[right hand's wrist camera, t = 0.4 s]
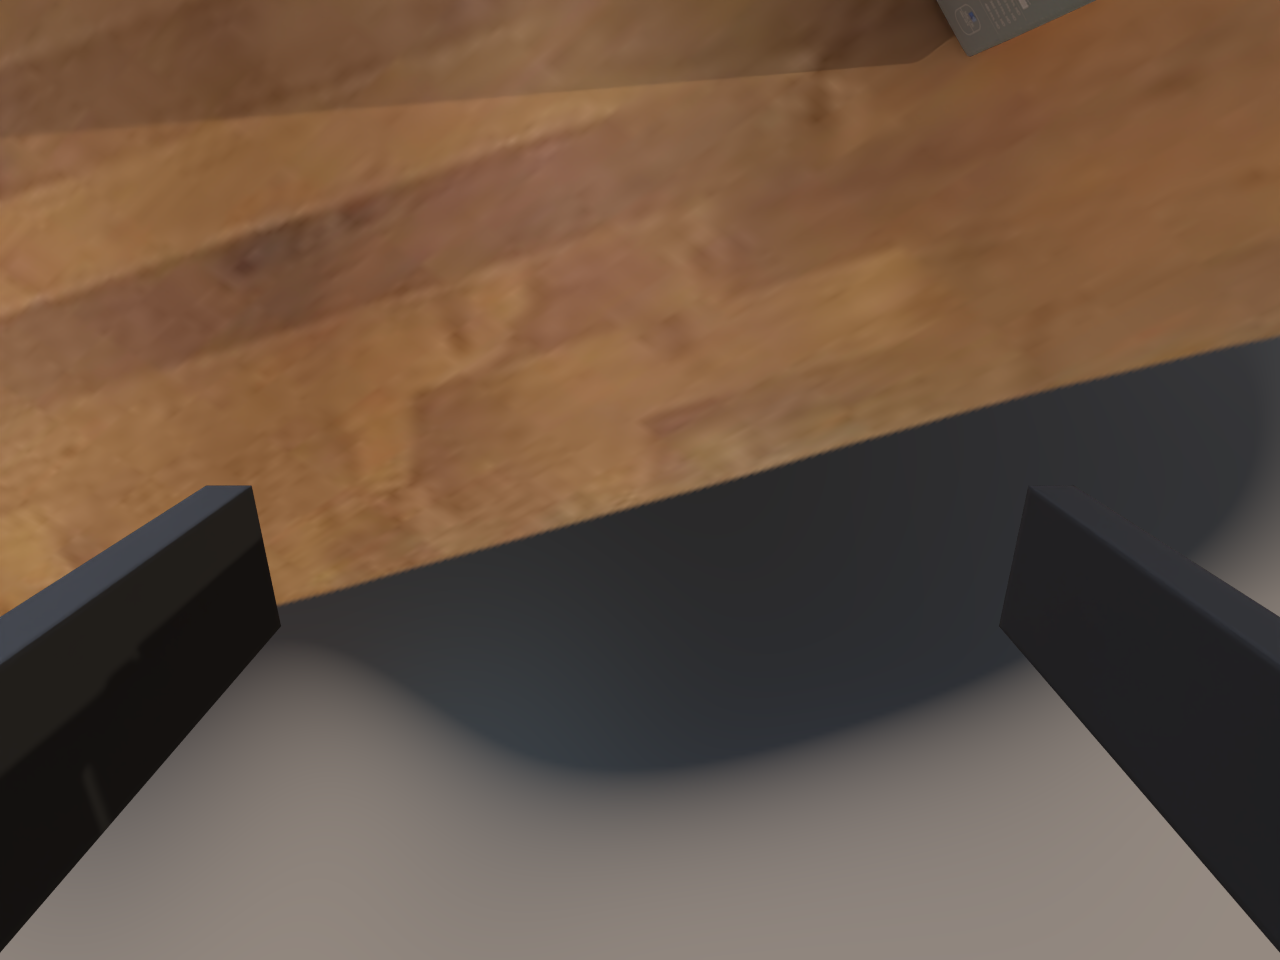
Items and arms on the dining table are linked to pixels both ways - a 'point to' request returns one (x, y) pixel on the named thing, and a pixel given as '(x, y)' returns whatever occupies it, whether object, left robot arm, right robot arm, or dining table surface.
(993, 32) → the hard drive box
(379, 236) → the dining table surface
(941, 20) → the dining table surface
